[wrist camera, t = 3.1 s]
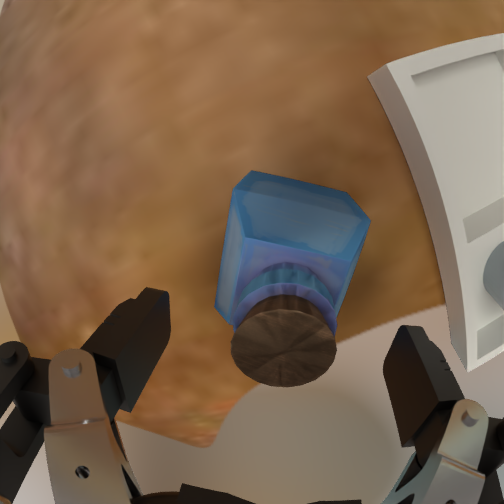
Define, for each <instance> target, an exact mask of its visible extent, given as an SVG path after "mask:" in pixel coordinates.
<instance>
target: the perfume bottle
mask: <svg viewBox="0 0 504 504" xmlns="http://www.w3.org/2000/svg"><path fill="white" fill-rule="evenodd" d="M370 222H371V220H370V219H369V218H368V217H367V215H366V214H365V213H364V212H363V211H362V209H361V208H360V207H359V206H358V205H357V204H356V202H355V201H354V200H353V199H352V198H351V197H350V196H349V195H348V193H347V192H343V191H339V190H335V189H331V188H327V187H323V186H319V185H315V184H311V183H307V182H303V181H298V180H294V179H290V178H285V177H281V176H276V175H271V174H267V173H262V172H257V171H252V170H251V171H250V172H249V173H248V174H247V175H246V176H245V177H244V178H243V179H242V180H241V181H240V182H239V183H238V184H237V185H236V186H235V187H234V188H233V192H232V198H231V203H230V209H229V215H228V221H227V228H226V234H225V240H224V246H223V253H222V259H221V266H220V272H219V279H218V286H217V292H216V299H215V306H214V307H215V308H216V310H217V311H218V312H219V313H220V314H221V315H222V317H223V318H224V319H225V320H226V321H227V322H228V323H229V324H230V325H233V330H234V336H233V338H232V340H231V355H232V357H233V359H234V362H235V364H236V366H237V367H238V368H239V369H240V370H241V371H242V372H243V373H244V374H245V375H246V376H248V377H250V378H252V379H253V380H255V381H257V382H259V383H263V384H266V385H269V386H276V387H293V386H300V385H303V384H306V383H309V382H311V381H314V380H316V379H317V378H318V377H320V376H321V375H323V374H324V373H325V372H326V371H327V370H328V369H329V367H330V366H331V365H332V363H333V362H334V359H335V355H336V351H337V348H336V342H335V333H336V328H337V321H336V317H337V315H338V312H339V310H340V307H341V305H342V302H343V300H344V297H345V294H346V292H347V289H348V286H349V284H350V281H351V278H352V276H353V273H354V270H355V267H356V264H357V262H358V259H359V256H360V253H361V250H362V247H363V244H364V241H365V238H366V235H367V232H368V228H369V225H370Z"/></svg>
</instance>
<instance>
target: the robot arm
mask: <svg viewBox="0 0 504 504" xmlns="http://www.w3.org/2000/svg"><path fill="white" fill-rule="evenodd" d="M170 332H171V323H170V304H169V294H168V292H167V291H163V290H158V289H153V288H148V287H146V288H145V289H144V290H143V291H142V292H141V293H140V294H139V296H138V297H137V298H136V299H132V298H130V299H128V300H126V301H124V302H123V303H121V304H119V305H118V306H117V307H116V308H115V309H114V310H113V311H112V312H111V314H110V316H108V317H107V318H106V319H105V320H104V323H102V324H101V325H100V326H99V327H98V328H97V330H96V331H95V332H94V333H93V334H92V335H91V337H90V338H89V339H88V340H87V341H86V342H85V344H84V345H83V346H82V347H81V348H80V349H68V350H64V351H62V352H60V353H58V354H57V355H55V356H54V357H53V359H52V360H49V359H41V358H34V357H31V356H30V354H29V351H28V349H27V347H26V346H25V345H24V344H23V343H21V342H17V341H10V342H6V343H3V344H2V345H0V418H1V417H2V415H3V414H4V413H5V411H6V410H7V408H8V407H9V405H10V404H11V402H12V401H13V402H14V404H15V405H16V406H15V408H14V409H13V411H12V412H11V414H10V415H9V417H8V418H7V420H6V421H5V423H4V424H3V426H2V427H1V429H0V504H12V503H13V501H14V499H15V497H16V495H17V493H18V491H19V488H20V486H21V484H22V482H23V480H24V478H25V476H26V474H27V472H28V471H29V468H30V467H31V465H32V463H33V461H34V459H35V457H36V455H37V454H38V452H39V450H40V448H41V446H42V444H43V442H44V441H45V449H46V457H47V464H48V470H49V476H50V481H51V486H52V491H53V495H54V500H55V504H255V503H252V502H249V501H247V500H244V499H241V498H239V497H236V496H233V495H231V494H228V493H224V492H219V491H214V490H209V489H204V488H200V487H195V486H191V485H187V484H183V483H182V485H181V489H180V492H158V493H151V494H147V495H143V493H142V491H141V489H140V486H139V484H138V482H137V479H136V477H135V475H134V473H133V471H132V468H131V466H130V463H129V461H128V458H127V455H126V452H125V449H124V446H123V443H122V439H121V436H120V433H119V430H118V427H117V423H116V419H115V415H116V413H117V412H118V410H119V409H121V410H124V411H127V412H130V413H131V411H132V409H133V407H134V406H135V404H136V402H137V400H138V398H139V396H140V394H141V392H142V390H143V389H144V387H145V385H146V383H147V381H148V379H149V377H150V375H151V374H152V372H153V370H154V368H155V366H156V364H157V362H158V361H159V359H160V357H161V355H162V353H163V351H164V350H165V348H166V346H167V344H168V341H169V338H170ZM383 375H384V378H385V382H386V386H387V389H388V393H389V396H390V400H391V404H392V408H393V412H394V416H395V420H396V424H397V428H398V432H399V437H400V441H401V446H402V447H411V446H415V449H416V451H415V452H414V453H413V454H412V456H411V457H410V459H409V461H408V463H407V465H406V466H405V468H404V470H403V472H402V473H401V475H400V477H399V479H398V480H397V482H396V483H395V485H394V487H393V489H392V490H391V491H390V493H389V494H388V496H387V497H386V498H385V500H384V501H383V502H382V503H381V504H504V500H503V496H502V491H501V487H500V483H499V479H498V475H497V471H496V470H497V469H498V468H499V467H500V466H501V465H502V464H503V463H504V418H503V419H497V418H491V417H488V415H487V413H486V411H485V409H484V408H483V407H482V406H481V405H480V404H479V403H477V402H475V401H473V400H470V399H465V398H464V395H463V393H462V391H461V389H460V387H459V385H458V383H457V381H456V379H455V377H454V375H453V373H452V371H450V367H449V365H448V363H447V362H446V359H445V357H444V355H443V353H442V351H441V350H440V349H439V348H438V347H437V346H436V345H435V344H434V343H433V342H432V341H430V340H429V339H428V336H427V335H426V333H425V331H424V329H423V328H422V327H420V326H409V325H402V326H400V328H399V329H398V331H397V333H396V336H395V338H394V340H393V342H392V345H391V347H390V349H389V351H388V353H387V356H386V357H385V360H384V365H383ZM309 504H362V503H361V500H345V501H318V502H314V503H309Z"/></svg>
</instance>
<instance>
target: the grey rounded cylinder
mask: <svg viewBox="0 0 504 504" xmlns="http://www.w3.org/2000/svg"><path fill="white" fill-rule="evenodd" d="M483 284H484V287H485V289H486V291H487V292H488V293H489V294H490V295H491V297H492V298H493V299H494V300H495V301H496V302H497V303H498V304H499V306H500V307H501V308H502V309H503V310H504V241H503V242H501V243H500V244H499V245H498V246H497V247H496V248H495V249H494V250H493V251H492V253H491V254H490V256H489V258H488V260H487V262H486V265H485V268H484V272H483Z"/></svg>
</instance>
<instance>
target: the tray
mask: <svg viewBox="0 0 504 504" xmlns="http://www.w3.org/2000/svg"><path fill="white" fill-rule="evenodd" d="M367 78H368V80H369V81H370V83H371V85H372V87H373V89H374V91H375V93H376V95H377V96H378V98H379V100H380V102H381V104H382V106H383V108H384V110H385V113H386V115H387V117H388V119H389V121H390V123H391V125H392V128H393V130H394V132H395V134H396V137H397V139H398V141H399V144H400V146H401V148H402V151H403V153H404V156H405V158H406V161H407V163H408V166H409V169H410V171H411V174H412V177H413V179H414V182H415V185H416V188H417V191H418V194H419V197H420V200H421V203H422V206H423V209H424V212H425V216H426V219H427V222H428V226H429V229H430V233H431V237H432V240H433V244H434V248H435V252H436V257H437V261H438V265H439V270H440V274H441V279H442V284H443V290H444V295H445V301H446V307H447V313H448V320H449V327H450V336H451V344H452V345H453V347H454V349H455V351H456V352H457V354H458V356H459V358H460V360H461V362H462V363H463V365H464V367H465V369H466V371H467V372H469V371H471V370H473V369H475V368H476V367H478V366H480V365H481V364H483V363H485V362H487V361H488V360H490V359H492V358H493V357H495V356H496V355H498V354H500V353H501V352H503V351H504V310H503V309H502V308H501V307H500V306H499V304H498V303H497V302H496V301H495V300H494V299H493V298H492V297H491V295H490V294H489V293H488V292H487V291H486V289H485V287H484V284H483V272H484V268H485V265H486V262H487V260H488V258H489V256H490V254H491V253H492V251H493V250H494V249H495V248H496V247H497V246H498V245H499V244H500V243H501V242H503V241H504V33H501V34H495V35H490V36H484V37H479V38H475V39H470V40H465V41H461V42H457V43H453V44H449V45H445V46H441V47H438V48H434V49H431V50H427V51H424V52H420V53H417V54H414V55H411V56H408V57H404V58H401V59H398V60H395V61H392V62H390V63H387V64H385V65H383V66H382V67H380V68H379V69H377V70H376V71H374V72H373V73H372V74H370V75H369V76H367Z"/></svg>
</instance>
